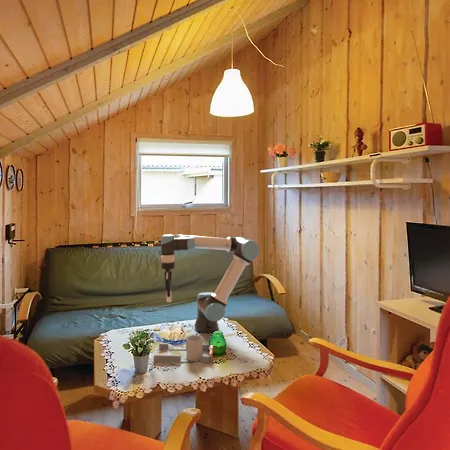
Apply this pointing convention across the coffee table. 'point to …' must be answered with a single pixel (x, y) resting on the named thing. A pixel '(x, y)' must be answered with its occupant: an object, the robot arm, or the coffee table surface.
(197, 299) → the robot arm
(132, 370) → the coffee table surface
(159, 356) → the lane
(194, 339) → the mug
